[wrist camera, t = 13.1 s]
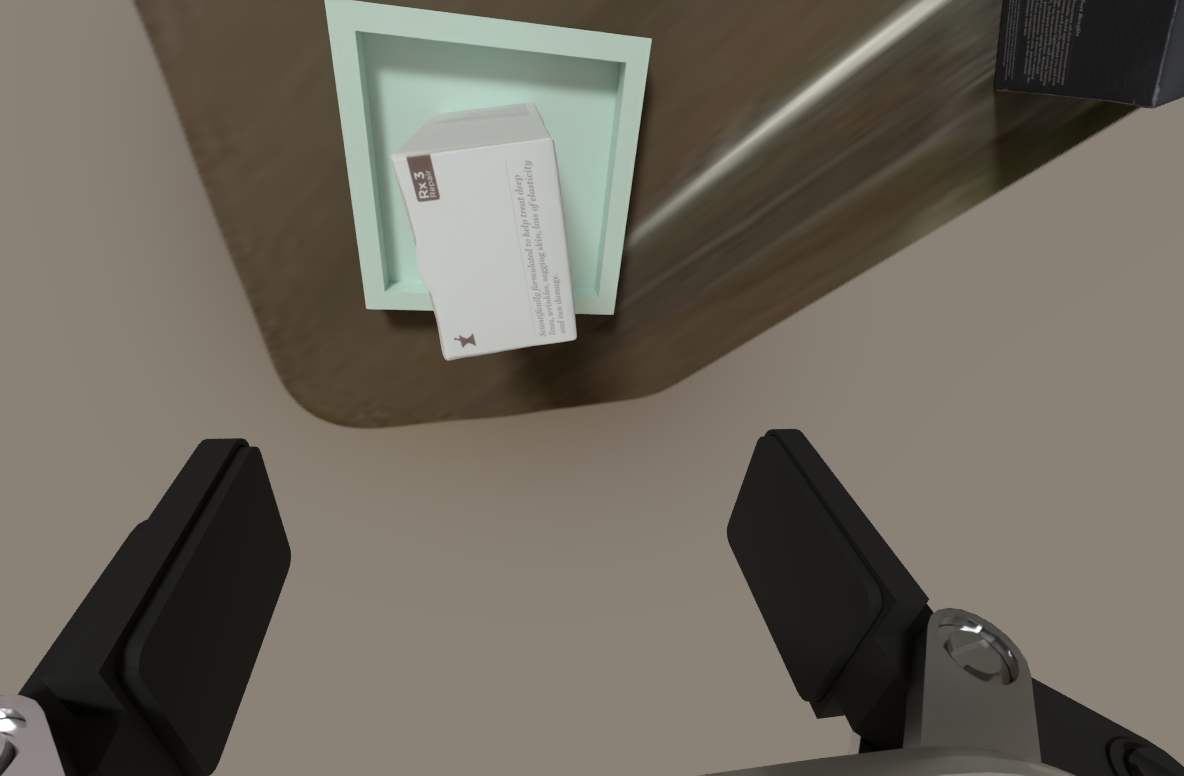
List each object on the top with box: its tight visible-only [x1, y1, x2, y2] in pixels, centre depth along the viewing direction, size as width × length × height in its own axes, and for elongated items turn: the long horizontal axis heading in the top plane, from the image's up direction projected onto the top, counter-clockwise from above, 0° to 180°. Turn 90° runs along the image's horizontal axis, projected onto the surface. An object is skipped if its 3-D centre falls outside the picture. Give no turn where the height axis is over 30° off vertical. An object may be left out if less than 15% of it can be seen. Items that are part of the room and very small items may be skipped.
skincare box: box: [390, 102, 577, 361], centre depth 26 cm, size 8×6×15 cm
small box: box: [995, 0, 1184, 108], centre depth 29 cm, size 11×6×10 cm, turn 109°
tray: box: [325, 0, 652, 315], centre depth 32 cm, size 16×16×2 cm
